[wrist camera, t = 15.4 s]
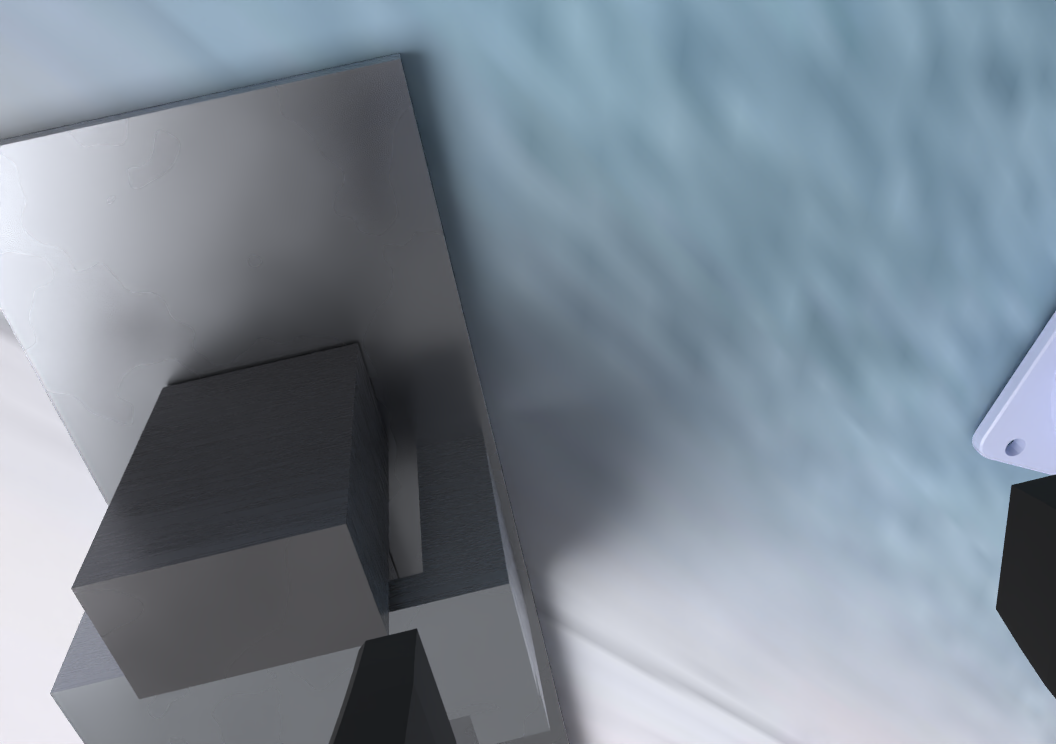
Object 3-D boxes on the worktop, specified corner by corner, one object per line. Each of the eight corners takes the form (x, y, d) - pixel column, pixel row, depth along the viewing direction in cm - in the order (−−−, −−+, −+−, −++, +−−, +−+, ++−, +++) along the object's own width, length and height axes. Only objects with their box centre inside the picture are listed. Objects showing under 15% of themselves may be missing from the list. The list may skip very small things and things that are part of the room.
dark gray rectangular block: (162, 387, 17) (71, 588, 12) (358, 342, 18) (345, 523, 12) (293, 670, 22) (266, 906, 17) (450, 632, 22) (469, 854, 17)
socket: (-64, 154, 15) (-261, 268, 11) (399, 52, 16) (404, 121, 11) (297, 829, 26) (277, 1038, 21) (573, 760, 26) (614, 952, 21)
